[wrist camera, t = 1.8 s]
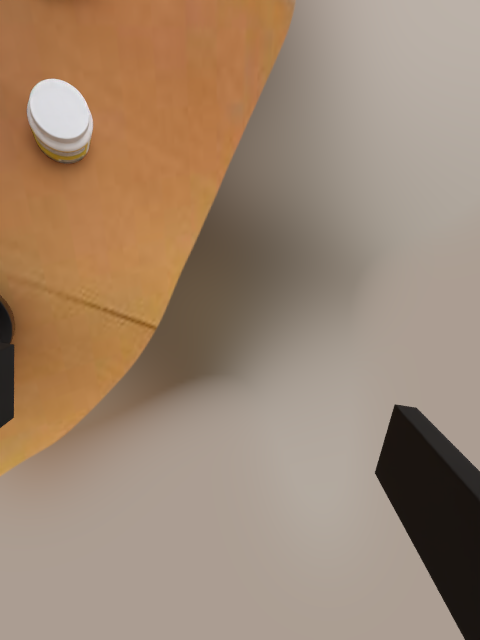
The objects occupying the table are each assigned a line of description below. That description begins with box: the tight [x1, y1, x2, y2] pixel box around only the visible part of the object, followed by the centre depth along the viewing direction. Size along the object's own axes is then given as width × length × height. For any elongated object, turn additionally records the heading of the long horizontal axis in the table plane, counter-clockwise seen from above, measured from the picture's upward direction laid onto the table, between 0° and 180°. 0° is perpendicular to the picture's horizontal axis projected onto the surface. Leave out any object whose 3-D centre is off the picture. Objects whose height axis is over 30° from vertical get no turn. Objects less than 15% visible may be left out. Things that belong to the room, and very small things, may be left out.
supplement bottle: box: [27, 79, 93, 163], centre depth 29 cm, size 5×5×8 cm
